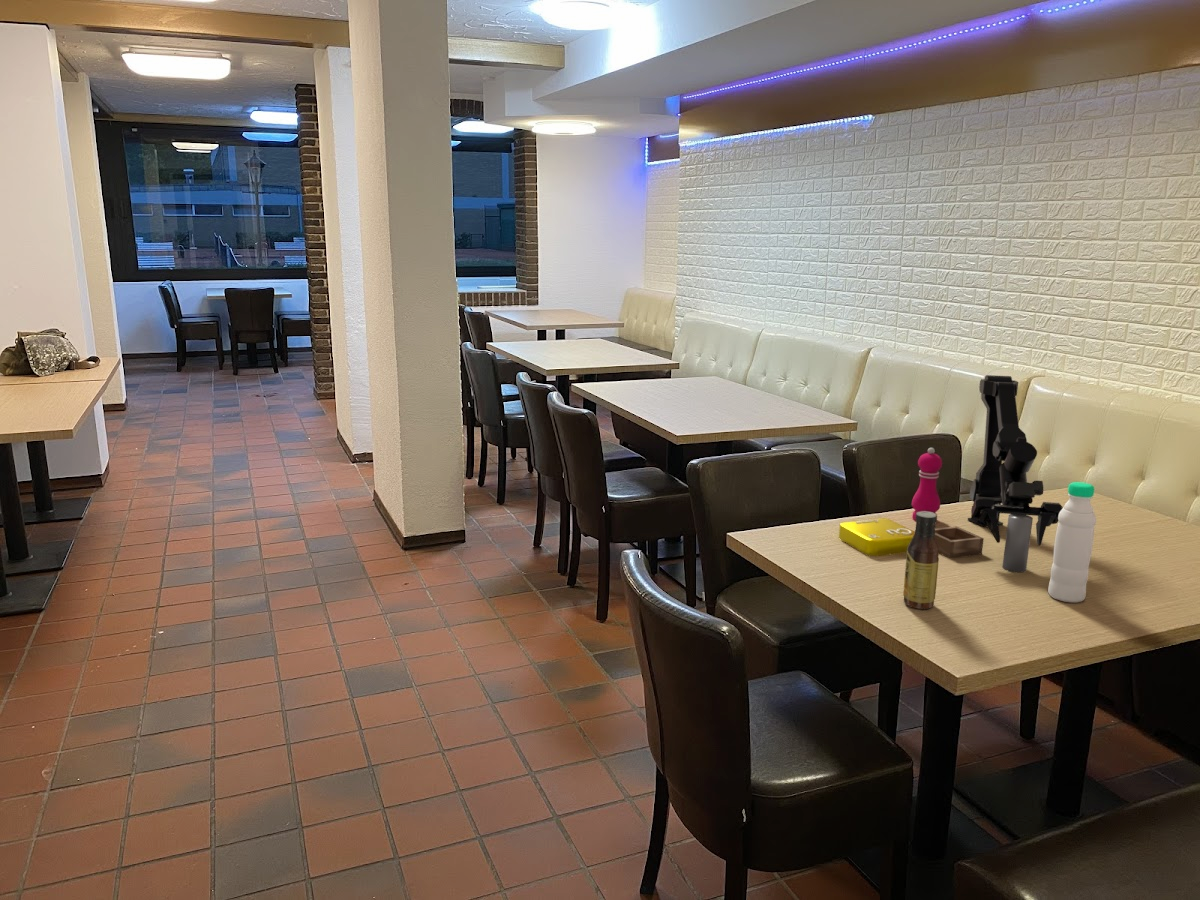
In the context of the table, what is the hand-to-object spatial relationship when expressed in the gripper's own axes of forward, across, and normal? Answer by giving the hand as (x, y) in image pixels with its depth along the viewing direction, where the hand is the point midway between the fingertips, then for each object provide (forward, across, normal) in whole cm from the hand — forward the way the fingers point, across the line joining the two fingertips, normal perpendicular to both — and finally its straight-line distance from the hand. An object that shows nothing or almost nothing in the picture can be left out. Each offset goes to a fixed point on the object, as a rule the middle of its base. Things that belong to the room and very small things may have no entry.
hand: (1019, 543), depth 205 cm
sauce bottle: (+23, -24, -14) cm, 36 cm away
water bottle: (+15, +7, -5) cm, 17 cm away
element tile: (-3, -29, +13) cm, 32 cm away
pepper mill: (-20, -16, +30) cm, 39 cm away
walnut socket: (-4, -12, +13) cm, 18 cm away
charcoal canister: (+4, 0, +6) cm, 7 cm away
